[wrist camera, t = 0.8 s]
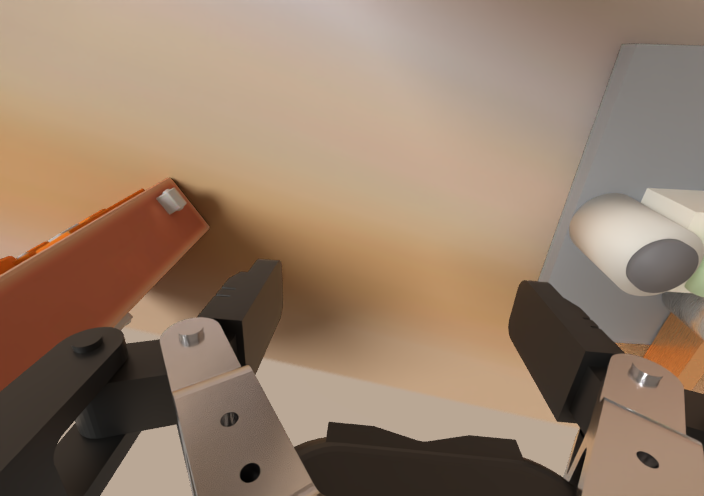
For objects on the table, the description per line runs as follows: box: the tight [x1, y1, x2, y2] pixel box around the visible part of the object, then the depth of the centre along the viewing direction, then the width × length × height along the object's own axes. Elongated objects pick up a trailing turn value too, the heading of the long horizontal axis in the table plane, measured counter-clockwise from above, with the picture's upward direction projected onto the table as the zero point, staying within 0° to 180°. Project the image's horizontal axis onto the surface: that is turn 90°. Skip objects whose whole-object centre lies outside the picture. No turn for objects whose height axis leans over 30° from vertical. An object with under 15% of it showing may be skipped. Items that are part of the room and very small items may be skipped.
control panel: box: [0, 178, 209, 391], centre depth 23 cm, size 21×7×15 cm
